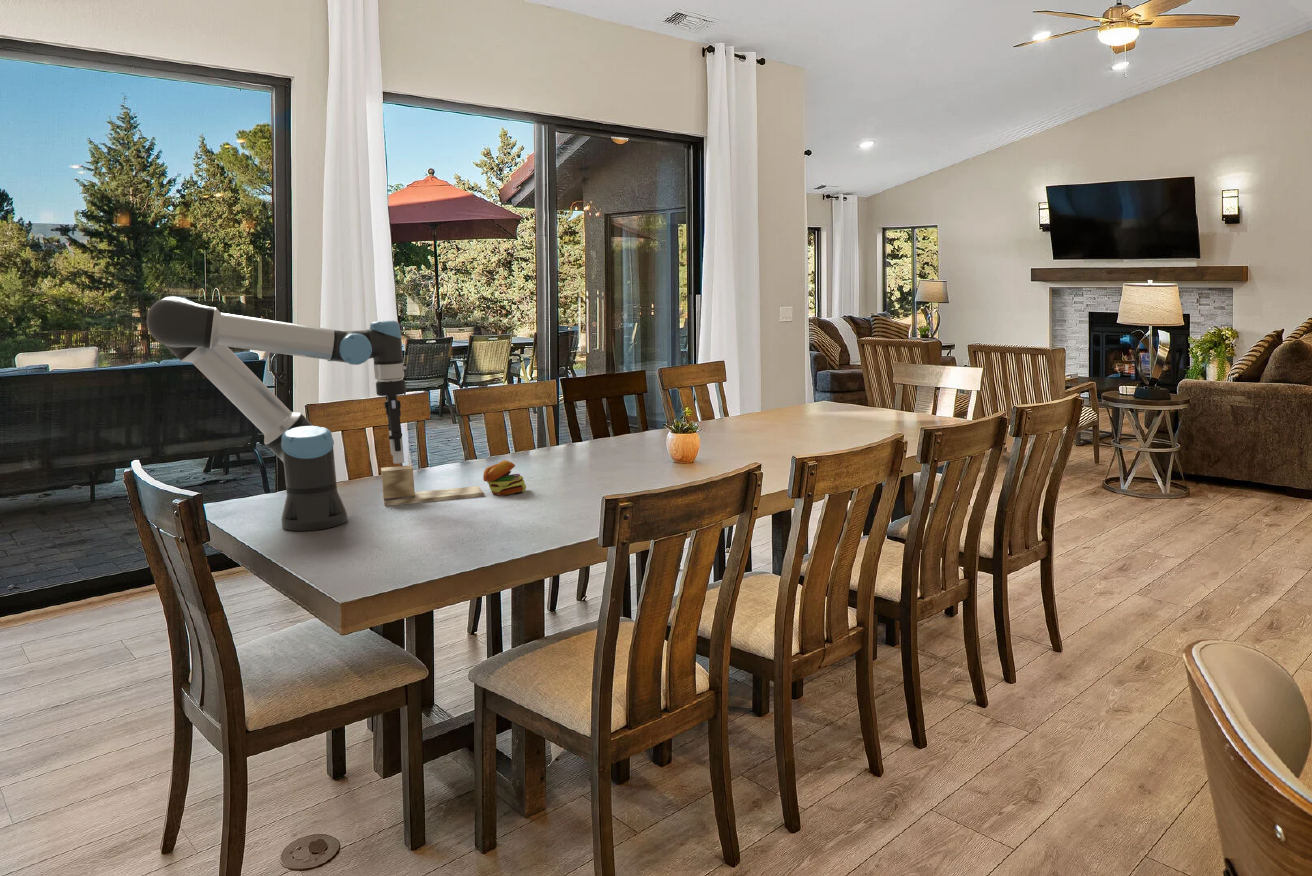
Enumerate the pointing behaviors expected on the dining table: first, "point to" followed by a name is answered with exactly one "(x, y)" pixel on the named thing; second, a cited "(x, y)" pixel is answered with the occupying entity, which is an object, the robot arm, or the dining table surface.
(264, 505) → the dining table surface
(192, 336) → the robot arm
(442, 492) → the board
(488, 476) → the cheeseburger
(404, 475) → the block
